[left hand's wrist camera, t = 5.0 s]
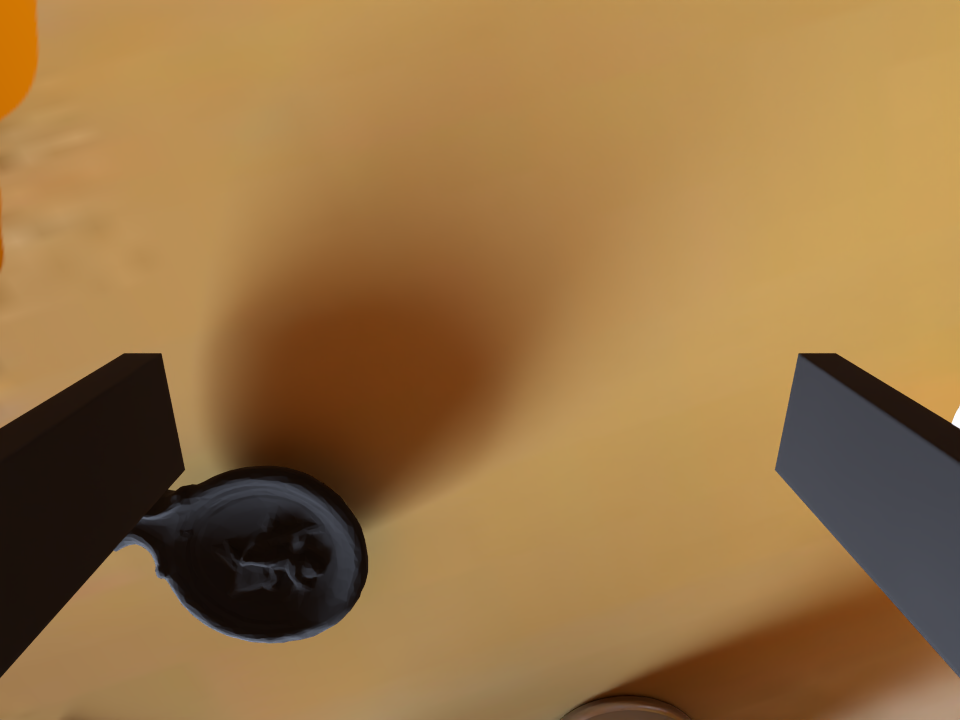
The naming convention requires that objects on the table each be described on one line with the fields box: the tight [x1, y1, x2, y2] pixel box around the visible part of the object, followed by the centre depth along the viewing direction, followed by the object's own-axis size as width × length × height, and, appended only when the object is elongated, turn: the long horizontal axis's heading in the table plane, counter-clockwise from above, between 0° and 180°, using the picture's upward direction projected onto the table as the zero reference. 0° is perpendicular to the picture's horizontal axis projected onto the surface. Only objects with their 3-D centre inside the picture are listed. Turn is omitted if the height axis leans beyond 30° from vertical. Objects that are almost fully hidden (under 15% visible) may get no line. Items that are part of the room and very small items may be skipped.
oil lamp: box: [114, 466, 368, 643], centre depth 44 cm, size 15×20×5 cm
